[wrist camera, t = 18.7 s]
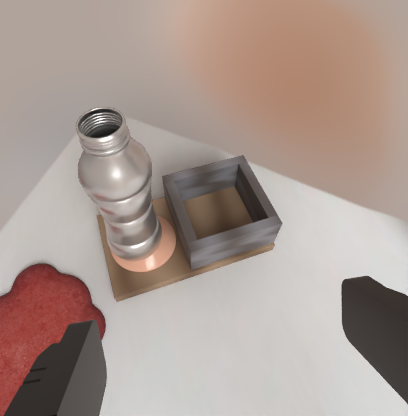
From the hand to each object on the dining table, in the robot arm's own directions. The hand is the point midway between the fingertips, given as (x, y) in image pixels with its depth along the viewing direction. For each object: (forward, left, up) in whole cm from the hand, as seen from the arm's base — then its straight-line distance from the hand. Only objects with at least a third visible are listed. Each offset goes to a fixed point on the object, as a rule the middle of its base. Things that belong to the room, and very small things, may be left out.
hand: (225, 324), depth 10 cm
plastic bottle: (+2, -18, -27) cm, 32 cm away
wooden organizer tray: (-4, -18, -28) cm, 34 cm away
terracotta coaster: (+2, -18, -27) cm, 33 cm away
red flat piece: (+17, -11, -29) cm, 36 cm away
